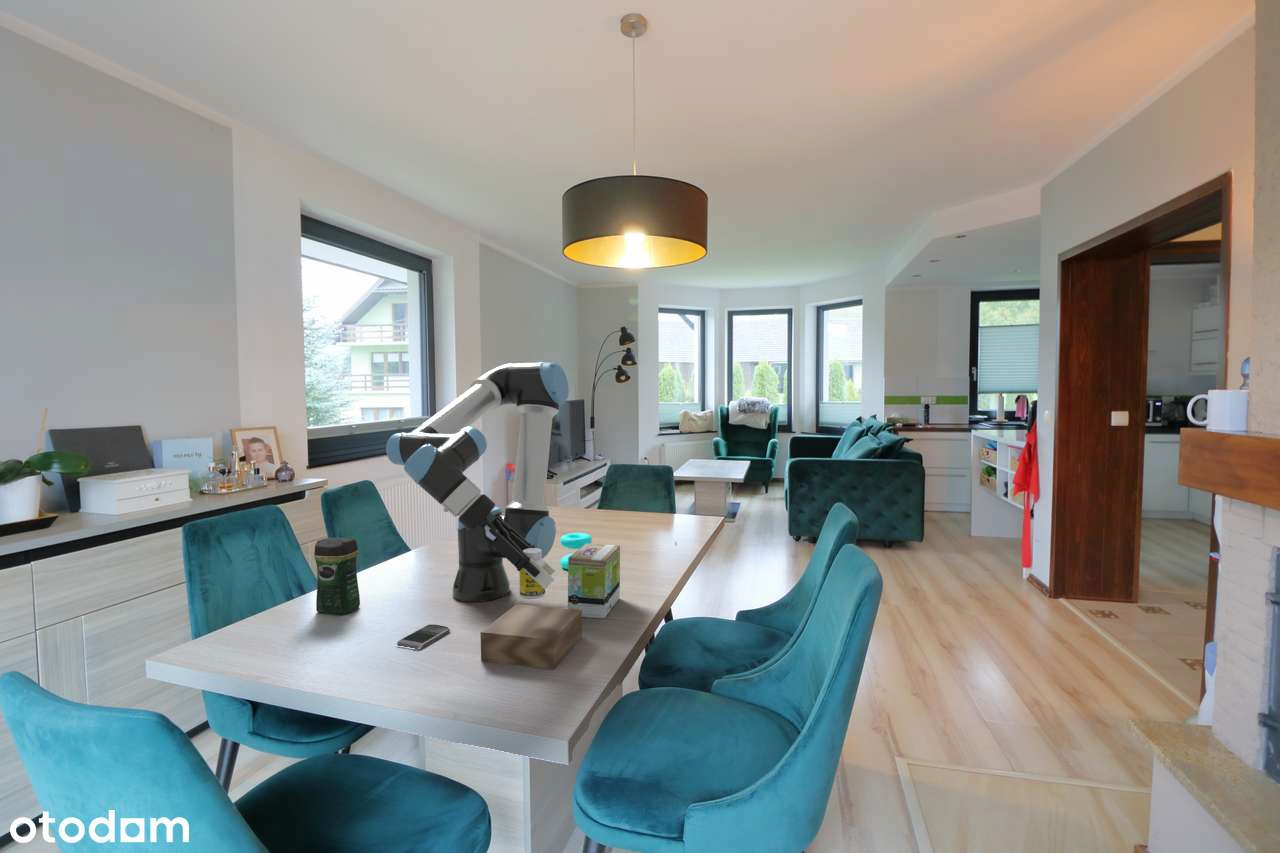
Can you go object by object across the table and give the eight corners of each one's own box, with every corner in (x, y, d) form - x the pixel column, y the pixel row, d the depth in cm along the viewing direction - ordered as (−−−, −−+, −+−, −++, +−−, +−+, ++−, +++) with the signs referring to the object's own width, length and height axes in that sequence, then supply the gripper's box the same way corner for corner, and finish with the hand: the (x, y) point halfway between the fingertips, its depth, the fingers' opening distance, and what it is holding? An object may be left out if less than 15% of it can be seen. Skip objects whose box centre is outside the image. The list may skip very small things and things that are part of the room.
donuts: (596, 533, 184) (584, 540, 175) (596, 563, 185) (585, 572, 175) (568, 531, 187) (555, 538, 178) (568, 561, 188) (555, 570, 178)
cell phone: (452, 632, 132) (452, 626, 132) (418, 652, 121) (418, 646, 121) (430, 629, 134) (430, 623, 134) (395, 648, 124) (395, 642, 123)
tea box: (606, 619, 138) (605, 559, 137) (566, 616, 140) (566, 557, 139) (620, 598, 153) (620, 543, 152) (584, 595, 155) (584, 542, 154)
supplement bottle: (523, 601, 118) (523, 554, 118) (516, 593, 123) (516, 548, 122) (548, 597, 120) (548, 551, 120) (541, 589, 125) (540, 545, 125)
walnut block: (481, 660, 116) (480, 632, 116) (516, 629, 132) (516, 604, 132) (554, 669, 113) (553, 639, 112) (581, 636, 128) (581, 610, 128)
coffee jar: (365, 605, 148) (363, 535, 147) (344, 617, 140) (342, 542, 139) (332, 603, 150) (330, 533, 149) (310, 614, 142) (307, 541, 141)
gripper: (465, 509, 128) (540, 578, 131) (447, 528, 110) (534, 608, 113) (488, 485, 128) (563, 555, 131) (475, 500, 110) (561, 580, 113)
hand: (549, 579), depth 122 cm, fingers closed on supplement bottle, 5 cm apart
